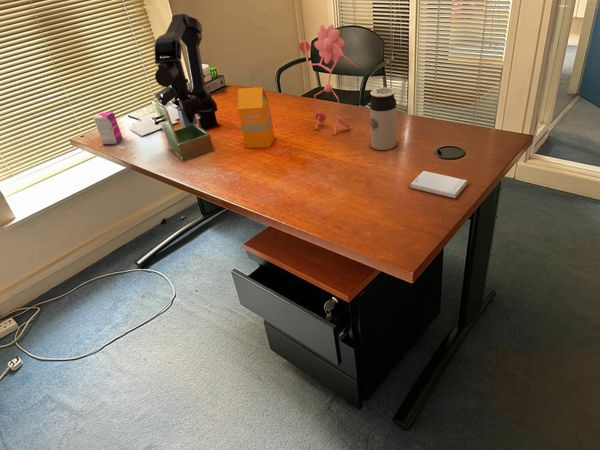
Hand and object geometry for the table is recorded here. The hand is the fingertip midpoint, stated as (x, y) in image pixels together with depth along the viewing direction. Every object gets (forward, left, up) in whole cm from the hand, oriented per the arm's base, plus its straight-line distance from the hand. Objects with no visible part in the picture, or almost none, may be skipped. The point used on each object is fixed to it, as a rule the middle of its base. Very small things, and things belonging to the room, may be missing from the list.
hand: (188, 121), depth 157 cm
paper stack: (+2, -41, -10) cm, 42 cm away
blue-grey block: (0, 0, -1) cm, 1 cm away
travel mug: (-47, +49, -10) cm, 69 cm away
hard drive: (-40, +79, -10) cm, 89 cm away
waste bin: (+2, 0, -10) cm, 10 cm away
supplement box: (+23, -33, -10) cm, 41 cm away
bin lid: (+8, 0, +3) cm, 8 cm away
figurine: (-47, +24, -10) cm, 54 cm away
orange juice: (-19, +15, -10) cm, 27 cm away
